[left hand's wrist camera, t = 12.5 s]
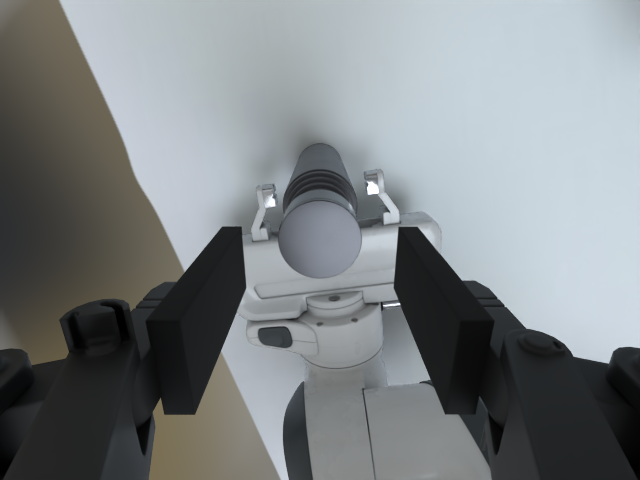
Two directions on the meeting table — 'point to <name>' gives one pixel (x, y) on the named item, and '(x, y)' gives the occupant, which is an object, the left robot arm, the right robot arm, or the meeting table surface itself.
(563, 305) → the meeting table surface
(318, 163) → the bottle
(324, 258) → the cap
